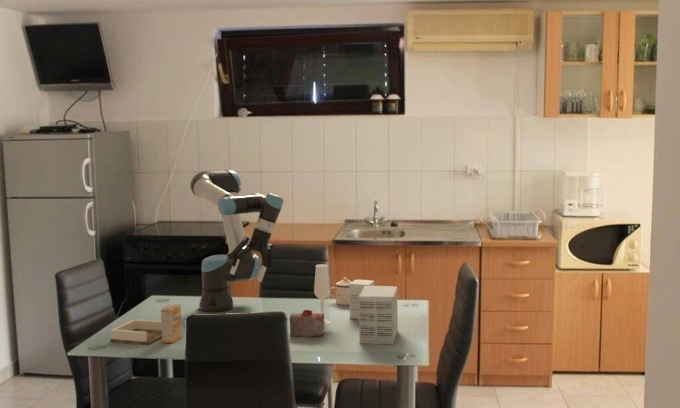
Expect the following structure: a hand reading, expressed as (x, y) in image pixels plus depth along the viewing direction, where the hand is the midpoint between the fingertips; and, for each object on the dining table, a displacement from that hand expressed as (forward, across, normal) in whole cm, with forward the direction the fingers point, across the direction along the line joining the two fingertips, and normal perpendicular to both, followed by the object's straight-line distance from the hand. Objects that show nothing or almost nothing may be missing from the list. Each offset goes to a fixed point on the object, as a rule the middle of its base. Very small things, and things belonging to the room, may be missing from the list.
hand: (245, 277), depth 289 cm
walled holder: (+33, -35, +1) cm, 48 cm away
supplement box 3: (0, +32, -55) cm, 63 cm away
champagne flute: (+6, +27, -26) cm, 37 cm away
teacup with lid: (0, +51, -4) cm, 51 cm away
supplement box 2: (-1, +44, -28) cm, 52 cm away
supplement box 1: (+29, -27, -10) cm, 40 cm away
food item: (+10, +14, -36) cm, 39 cm away
